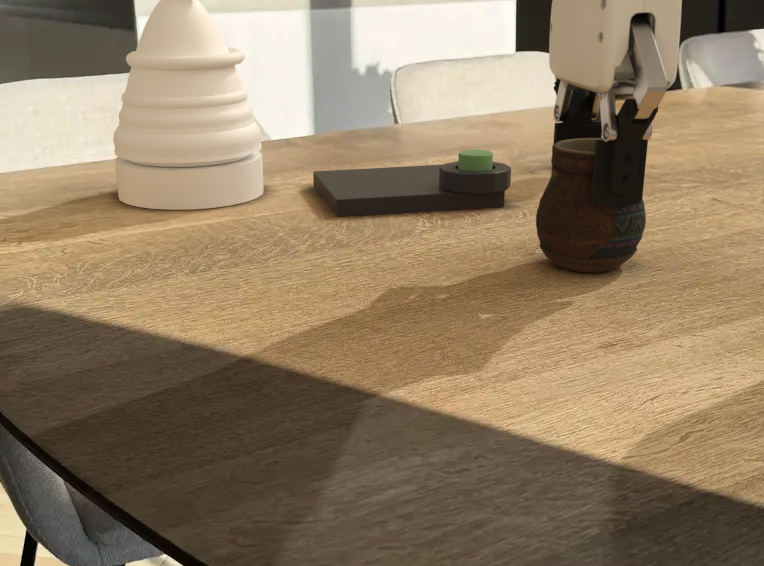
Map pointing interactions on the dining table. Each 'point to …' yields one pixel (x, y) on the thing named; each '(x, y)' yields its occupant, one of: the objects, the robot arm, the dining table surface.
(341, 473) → the dining table surface
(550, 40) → the robot arm
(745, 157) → the dining table surface
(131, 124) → the honey pot
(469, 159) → the button
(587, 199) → the mate gourd
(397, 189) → the black green button base
